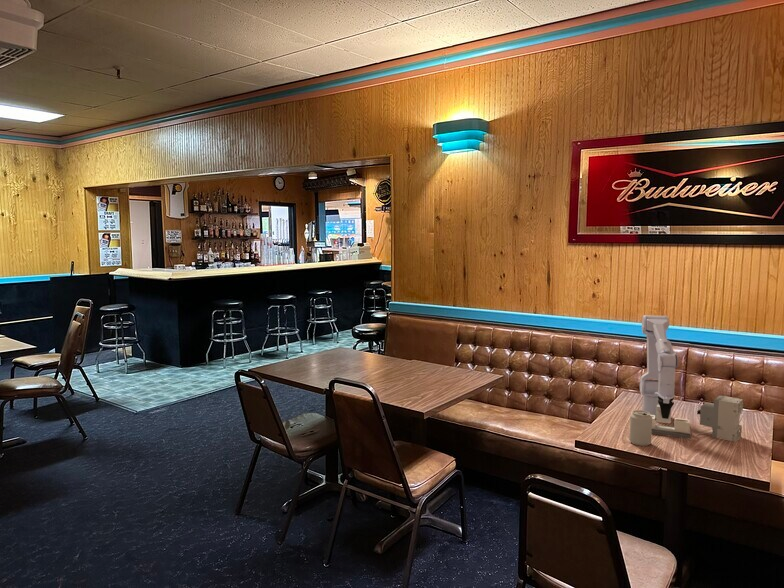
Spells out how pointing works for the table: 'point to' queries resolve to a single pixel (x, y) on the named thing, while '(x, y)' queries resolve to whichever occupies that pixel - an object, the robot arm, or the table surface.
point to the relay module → (659, 416)
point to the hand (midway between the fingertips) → (665, 416)
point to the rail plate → (673, 428)
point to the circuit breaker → (723, 417)
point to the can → (640, 428)
